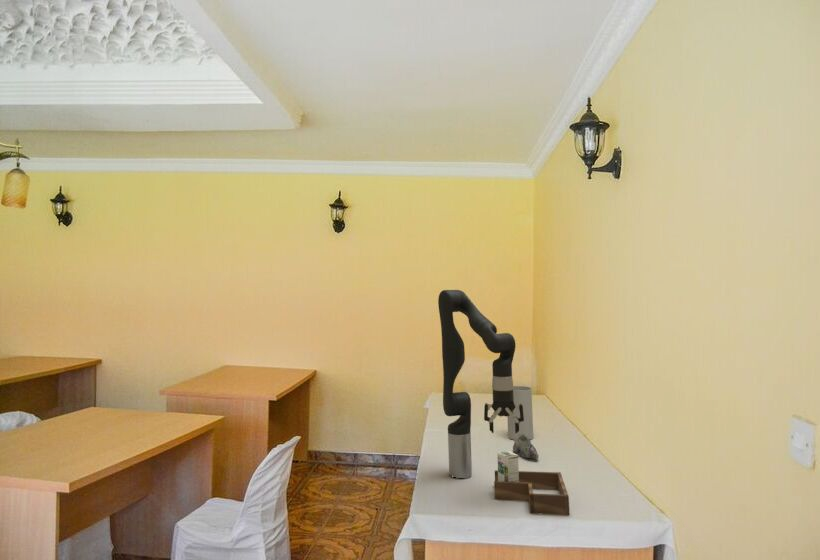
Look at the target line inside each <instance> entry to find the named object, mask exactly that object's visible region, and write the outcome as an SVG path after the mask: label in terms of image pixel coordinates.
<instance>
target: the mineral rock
mask: <svg viewBox="0 0 820 560" xmlns="http://www.w3.org/2000/svg"><path fill="white" fill-rule="evenodd" d="M513 443H514V444H513V446H512V453H515V454H517V455H518V457H522V458H525V459H539V453H538V451H537V449H536V447H535V446H534V445H533V444H532V443H531V440H529V438H528V437H527V436H525V434H522V435H521V434H519V435H518V436H517V438H516V439H515V440H514V442H513Z"/></svg>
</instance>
